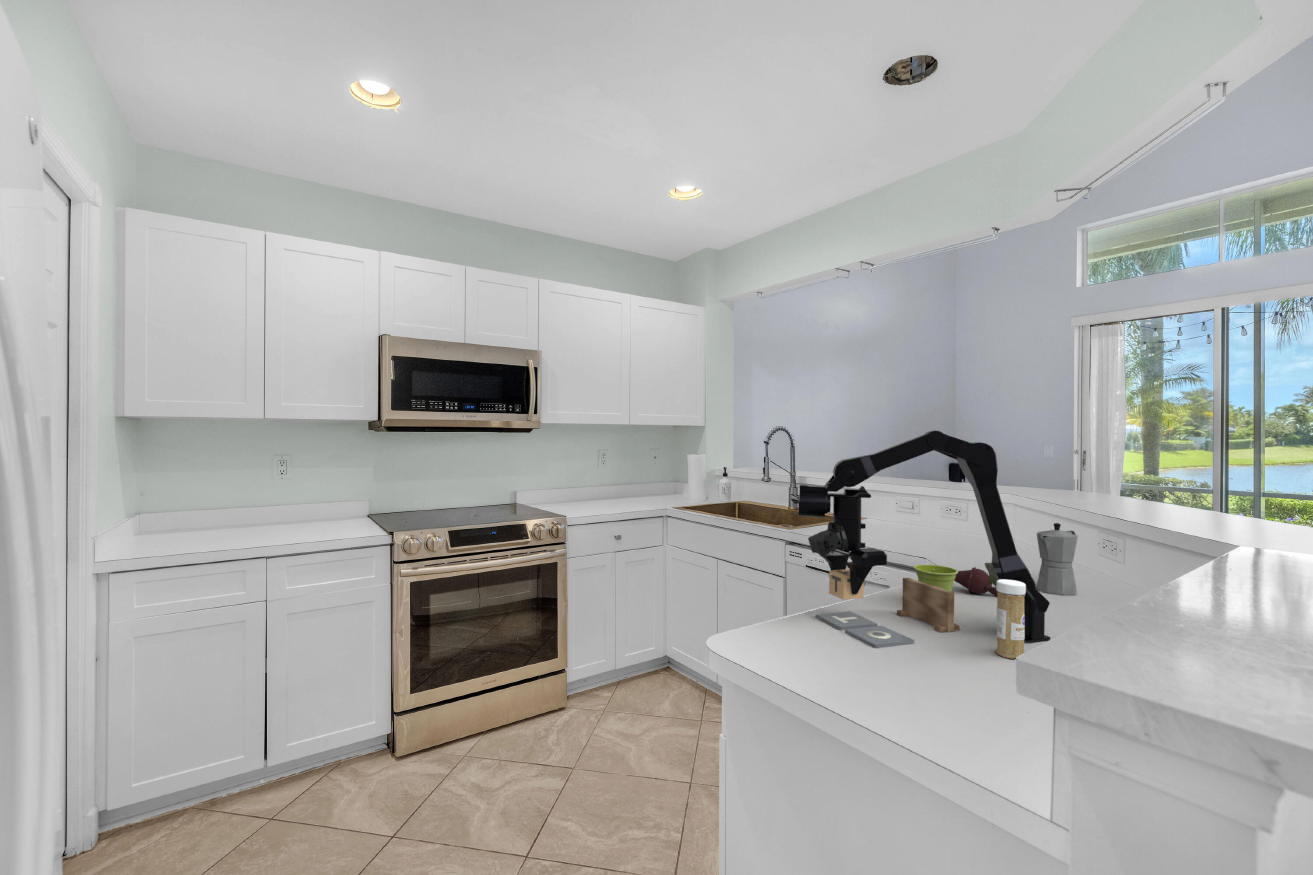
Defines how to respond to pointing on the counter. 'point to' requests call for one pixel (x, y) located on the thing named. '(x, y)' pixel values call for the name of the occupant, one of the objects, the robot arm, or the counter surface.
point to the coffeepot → (1057, 561)
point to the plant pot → (936, 575)
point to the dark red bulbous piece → (975, 581)
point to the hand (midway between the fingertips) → (846, 590)
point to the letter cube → (842, 585)
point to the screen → (928, 605)
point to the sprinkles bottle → (1010, 618)
